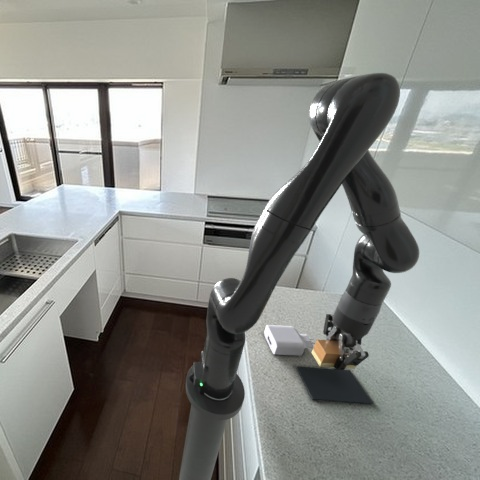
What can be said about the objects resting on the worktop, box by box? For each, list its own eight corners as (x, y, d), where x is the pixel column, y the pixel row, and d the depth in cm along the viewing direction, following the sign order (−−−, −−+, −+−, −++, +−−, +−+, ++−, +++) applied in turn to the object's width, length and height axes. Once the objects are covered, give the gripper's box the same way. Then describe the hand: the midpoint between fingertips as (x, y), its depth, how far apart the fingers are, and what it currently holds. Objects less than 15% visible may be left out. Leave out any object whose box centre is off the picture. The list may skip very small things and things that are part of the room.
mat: (312, 400, 69) (313, 398, 68) (296, 367, 78) (296, 366, 77) (372, 404, 68) (373, 403, 68) (349, 371, 77) (349, 370, 77)
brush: (319, 366, 67) (325, 353, 65) (311, 352, 71) (316, 339, 69) (354, 369, 66) (362, 355, 64) (344, 354, 70) (350, 341, 68)
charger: (320, 358, 81) (273, 355, 81) (305, 335, 90) (263, 333, 89) (325, 347, 79) (277, 345, 79) (309, 325, 87) (266, 323, 87)
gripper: (324, 291, 68) (306, 338, 75) (360, 332, 55) (333, 384, 62) (353, 293, 67) (331, 340, 75) (395, 334, 55) (364, 386, 62)
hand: (332, 359), depth 68 cm, fingers closed on brush, 4 cm apart
